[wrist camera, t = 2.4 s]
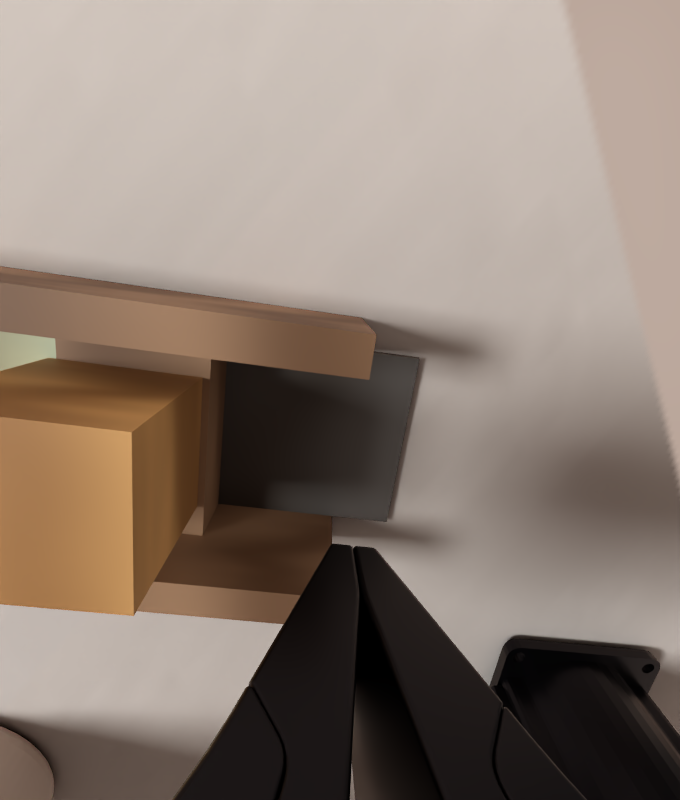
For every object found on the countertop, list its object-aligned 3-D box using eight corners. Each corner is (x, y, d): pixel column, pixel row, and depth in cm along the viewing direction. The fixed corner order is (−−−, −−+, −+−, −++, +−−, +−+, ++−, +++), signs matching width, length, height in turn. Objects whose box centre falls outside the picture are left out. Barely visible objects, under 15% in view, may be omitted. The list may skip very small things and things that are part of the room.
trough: (424, 326, 12) (467, 347, 9) (381, 541, 15) (399, 634, 11) (-271, 228, 11) (-590, 199, 7) (-200, 481, 13) (-413, 562, 9)
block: (202, 377, 11) (131, 432, 7) (197, 506, 12) (133, 615, 8) (48, 357, 10) (-117, 403, 7) (58, 491, 11) (-77, 597, 8)
